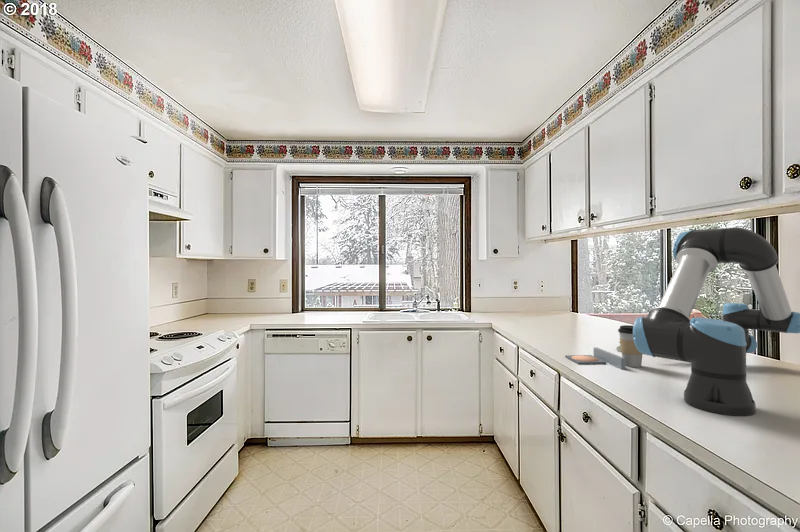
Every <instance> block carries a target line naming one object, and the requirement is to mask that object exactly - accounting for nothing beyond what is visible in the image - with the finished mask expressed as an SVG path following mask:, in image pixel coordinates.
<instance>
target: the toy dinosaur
mask: <svg viewBox="0 0 800 532" xmlns="http://www.w3.org/2000/svg"><path fill="white" fill-rule="evenodd" d="M619 343H620V341H619V342H618V344H619ZM615 349H616V351H618V352H619V351H620V352H619V353H621V346H620V345H618V346H616V348H615Z"/></svg>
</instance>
